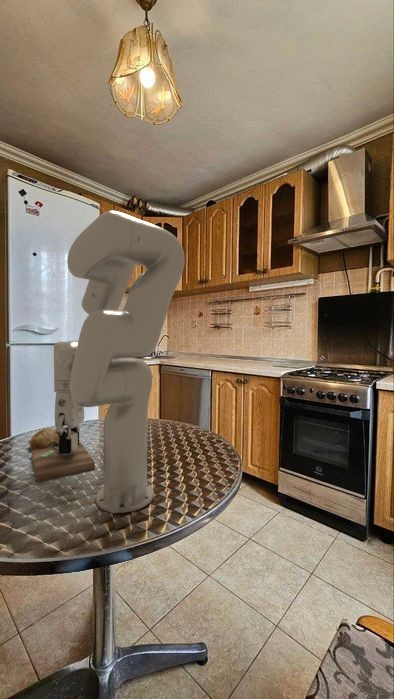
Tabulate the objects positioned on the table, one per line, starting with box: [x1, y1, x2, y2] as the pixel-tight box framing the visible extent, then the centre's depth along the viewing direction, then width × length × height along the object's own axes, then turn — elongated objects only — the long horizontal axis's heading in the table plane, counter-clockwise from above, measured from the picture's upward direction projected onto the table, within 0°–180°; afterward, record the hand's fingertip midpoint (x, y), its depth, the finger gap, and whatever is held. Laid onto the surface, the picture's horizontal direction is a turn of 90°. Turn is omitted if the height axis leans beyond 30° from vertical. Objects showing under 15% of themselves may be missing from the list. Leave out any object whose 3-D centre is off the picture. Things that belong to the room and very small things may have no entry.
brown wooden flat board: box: [31, 441, 96, 483], centre depth 86 cm, size 18×14×2 cm
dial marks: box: [40, 448, 76, 457], centre depth 89 cm, size 4×11×1 cm, turn 139°
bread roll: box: [28, 428, 59, 452], centre depth 98 cm, size 10×10×8 cm
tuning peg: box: [53, 430, 78, 458], centre depth 86 cm, size 11×3×7 cm, turn 52°
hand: (69, 448), depth 85 cm, fingers closed on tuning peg, 5 cm apart
